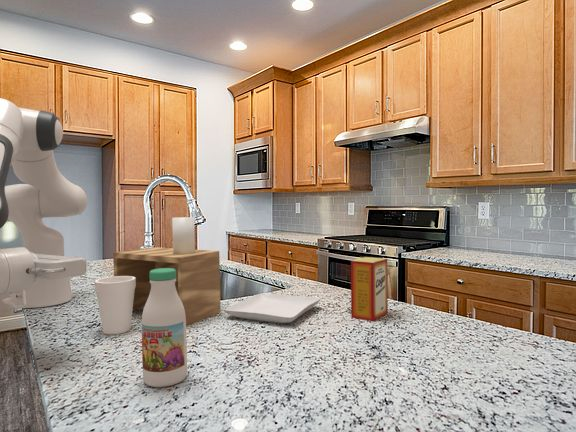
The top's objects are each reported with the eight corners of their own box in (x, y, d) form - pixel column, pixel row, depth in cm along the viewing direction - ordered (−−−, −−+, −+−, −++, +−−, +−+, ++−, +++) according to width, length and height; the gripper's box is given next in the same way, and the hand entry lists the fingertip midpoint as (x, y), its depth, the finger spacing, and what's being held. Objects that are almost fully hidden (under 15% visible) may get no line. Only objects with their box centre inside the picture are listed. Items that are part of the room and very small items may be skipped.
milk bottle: (149, 370, 75) (146, 266, 74) (190, 368, 75) (188, 265, 75) (137, 389, 67) (134, 274, 66) (183, 387, 68) (180, 272, 67)
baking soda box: (366, 309, 114) (366, 255, 114) (387, 313, 111) (387, 257, 110) (351, 317, 107) (350, 259, 106) (373, 321, 103) (373, 261, 102)
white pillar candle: (168, 253, 108) (167, 217, 108) (183, 251, 114) (183, 217, 113) (184, 254, 106) (183, 218, 105) (199, 252, 111) (198, 217, 110)
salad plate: (222, 320, 107) (222, 308, 107) (260, 302, 126) (260, 291, 126) (292, 330, 98) (292, 316, 98) (322, 308, 117) (321, 297, 117)
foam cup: (121, 337, 93) (120, 283, 93) (87, 335, 95) (86, 282, 95) (144, 325, 103) (142, 276, 102) (112, 323, 104) (111, 275, 104)
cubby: (115, 313, 114) (113, 252, 113) (155, 302, 127) (153, 247, 126) (183, 327, 101) (181, 257, 100) (220, 312, 114) (219, 251, 113)
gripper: (43, 256, 73) (108, 248, 85) (-11, 251, 83) (54, 245, 95) (44, 290, 73) (109, 277, 85) (-10, 281, 83) (55, 271, 95)
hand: (80, 260), depth 90 cm, fingers closed
